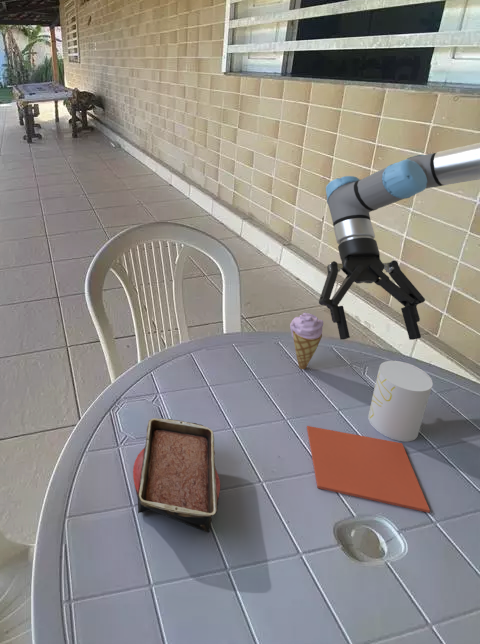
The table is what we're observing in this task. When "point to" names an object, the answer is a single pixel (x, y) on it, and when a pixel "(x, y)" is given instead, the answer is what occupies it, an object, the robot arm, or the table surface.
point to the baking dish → (178, 472)
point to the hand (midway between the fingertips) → (379, 338)
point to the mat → (365, 468)
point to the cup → (399, 400)
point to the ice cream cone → (306, 337)
